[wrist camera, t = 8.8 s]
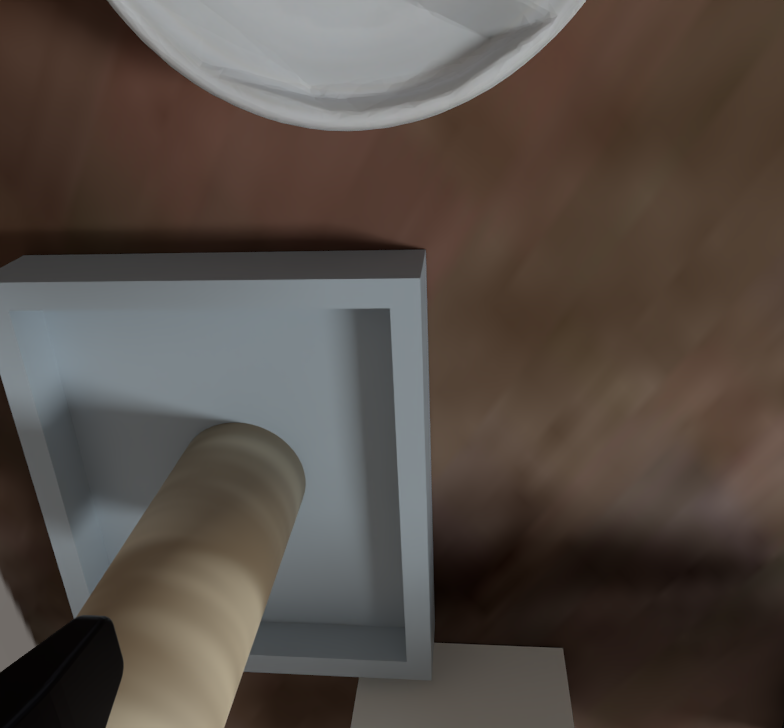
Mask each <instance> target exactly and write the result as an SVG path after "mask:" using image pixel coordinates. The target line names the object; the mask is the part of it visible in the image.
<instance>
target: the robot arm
mask: <svg viewBox="0 0 784 728" xmlns="http://www.w3.org/2000/svg"><path fill="white" fill-rule="evenodd" d="M123 669H124V662H123V656H122V653H121V649H120V645H119V642H118V638H117V634H116V631H115V627H114V624H113V621H112V620H111V619H110V618H109V617H107V616H96V615H82V616H78V617H76V618H75V619H73V620H72V621H70V622H69V623H67V624H66V625H65V626H63V627H62V628H61V629H59V630H58V631H56V632H55V633H54V634H52V635H51V636H50V637H48V638H47V639H45V640H44V641H43V642H41V643H40V644H39V645H37V646H36V647H35V648H33V649H32V650H31V651H29V652H28V653H26V654H25V655H24V656H22V657H21V658H19V659H18V660H17V661H15V662H14V663H13V664H11V665H10V666H9V667H7V668H6V669H4V670H3V671H2V672H0V728H106V725H107V722H108V719H109V716H110V713H111V710H112V707H113V704H114V701H115V698H116V695H117V692H118V689H119V686H120V683H121V679H122V676H123ZM782 728H784V722H783V726H782Z"/></svg>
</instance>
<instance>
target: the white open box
mask: <svg viewBox="0 0 784 728" xmlns="http://www.w3.org/2000/svg"><path fill="white" fill-rule="evenodd" d="M351 728H574V721H573V714H572V707H571V700H570V693H569V686H568V680H567V673H566V666H565V659H564V652H563V648H549V647H525V646H501V645H477V644H454V643H434V649H433V666H432V681H429V680H408V679H387V678H366V677H359V680H358V686H357V692H356V698H355V704H354V710H353V716H352V722H351Z"/></svg>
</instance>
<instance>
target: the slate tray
mask: <svg viewBox="0 0 784 728" xmlns="http://www.w3.org/2000/svg"><path fill="white" fill-rule="evenodd" d="M0 375H1V379H2V382H3V385H4V389H5V392H6V395H7V398H8V402H9V405H10V408H11V412H12V415H13V418H14V422H15V425H16V428H17V432H18V435H19V438H20V441H21V445H22V448H23V451H24V455H25V458H26V461H27V465H28V468H29V471H30V475H31V478H32V481H33V484H34V488H35V491H36V494H37V498H38V501H39V504H40V508H41V511H42V514H43V518H44V521H45V524H46V528H47V531H48V534H49V537H50V541H51V544H52V547H53V551H54V554H55V557H56V561H57V564H58V567H59V571H60V574H61V577H62V580H63V584H64V587H65V590H66V594H67V597H68V600H69V604H70V607H71V610H72V614H73V617H74V619H75V618H76V616H77V615H78V613H79V612H80V610H81V609H82V607H83V606H84V604H85V603H86V601H87V600H88V598H89V597H90V595H91V594H92V592H93V590H94V589H95V587H96V586H97V584H98V583H99V581H100V580H101V578H102V577H103V575H104V574H105V572H106V571H107V569H108V568H109V566H110V564H111V563H112V561H113V560H114V558H115V557H116V555H117V554H118V552H119V551H120V549H121V548H122V546H123V545H124V543H125V542H126V540H127V538H128V537H129V535H130V534H131V532H132V531H133V529H134V528H135V526H136V525H137V523H138V522H139V520H140V519H141V517H142V516H143V514H144V512H145V511H146V509H147V508H148V506H149V505H150V503H151V502H152V500H153V499H154V497H155V496H156V494H157V493H158V491H159V490H160V488H161V486H162V485H163V483H164V482H165V480H166V479H167V477H168V476H169V474H170V473H171V471H172V470H173V468H174V467H175V465H176V464H177V462H178V460H179V459H180V457H181V456H182V454H183V453H184V451H185V450H186V448H187V447H188V445H189V444H190V442H191V441H192V440H193V439H194V438H195V437H196V436H197V435H198V434H199V433H201V432H202V431H204V430H205V429H208V428H210V427H212V426H215V425H218V424H223V423H234V422H237V423H247V424H252V425H255V426H259V427H262V428H264V429H266V430H268V431H270V432H272V433H274V434H276V435H277V436H278V437H280V438H281V439H283V440H284V441H285V442H286V443H287V444H288V445H289V446H290V447H291V448H292V449H293V451H294V452H295V453H296V455H297V456H298V458H299V460H300V462H301V464H302V466H303V469H304V473H305V479H306V487H305V493H304V496H303V500H302V503H301V505H300V508H299V511H298V514H297V517H296V520H295V523H294V526H293V529H292V532H291V535H290V537H289V540H288V543H287V546H286V549H285V552H284V555H283V558H282V561H281V564H280V567H279V569H278V572H277V575H276V578H275V581H274V584H273V587H272V590H271V593H270V596H269V599H268V601H267V604H266V607H265V610H264V613H263V616H262V619H261V622H260V625H259V628H258V631H257V633H256V636H255V639H254V642H253V645H252V648H251V651H250V654H249V657H248V660H247V663H246V665H245V668H244V671H243V672H261V673H282V674H303V675H324V676H345V677H366V678H387V679H408V680H429V681H432V666H433V649H434V632H435V606H434V565H433V525H432V484H431V443H430V403H429V362H428V321H427V280H426V250H358V251H289V252H221V253H152V254H83V255H23V256H22V257H20V258H18V259H16V260H14V261H12V262H10V263H9V264H7V265H5V266H3V267H1V268H0Z"/></svg>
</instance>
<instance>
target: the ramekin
mask: <svg viewBox="0 0 784 728" xmlns="http://www.w3.org/2000/svg"><path fill="white" fill-rule="evenodd" d="M107 1H108V2H109V3H110V5H111V6H112V7H113V9H114V10H115V11H116V12H117V13H118V15H119V16H120V17H121V18H122V19H123V20H124V22H125V23H126V24H127V25H128V26H129V27H130V28H131V29H132V30H133V31H134V32H135V34H136V35H137V36H138V37H139V38H140V39H141V40H142V41H143V42H144V43H145V44H146V45H147V46H148V47H150V48H151V49H152V50H153V51H154V52H155V53H156V54H157V55H158V56H160V57H161V58H162V59H163V60H164V61H165V62H166V63H168V64H169V65H170V66H171V67H172V68H174V69H175V70H176V71H178V72H179V73H180V74H182V75H183V76H185V77H186V78H187V79H189V80H190V81H191V82H193V83H194V84H196V85H197V86H199V87H201V88H202V89H204V90H206V91H207V92H209V93H211V94H212V95H214V96H216V97H218V98H221V99H223V100H225V101H227V102H228V103H230V104H232V105H234V106H237V107H239V108H241V109H244V110H246V111H248V112H251V113H253V114H256V115H259V116H261V117H264V118H267V119H271V120H274V121H277V122H281V123H285V124H290V125H295V126H300V127H305V128H311V129H319V130H327V131H361V130H371V129H380V128H388V127H393V126H397V125H402V124H407V123H412V122H415V121H419V120H422V119H426V118H429V117H431V116H434V115H437V114H440V113H443V112H445V111H447V110H449V109H452V108H454V107H456V106H458V105H460V104H462V103H465V102H467V101H469V100H471V99H473V98H474V97H476V96H478V95H480V94H482V93H483V92H485V91H487V90H489V89H491V88H492V87H494V86H495V85H497V84H498V83H499V82H501V81H502V80H504V79H505V78H507V77H508V76H510V75H511V74H512V73H514V72H515V71H516V70H518V69H519V68H520V67H522V66H523V65H524V64H525V63H527V62H528V61H529V60H530V59H531V58H532V57H534V56H535V55H536V54H537V53H538V52H539V51H540V50H541V49H542V48H543V47H544V46H546V45H547V44H548V43H549V42H550V41H551V40H552V39H553V38H554V37H555V36H556V35H557V34H558V33H559V32H560V31H561V30H562V29H563V27H564V26H565V25H566V24H567V23H568V22H569V21H570V20H571V19H572V17H573V16H574V15H575V14H576V13H577V11H578V10H579V9H580V8H581V7H582V5H583V4H584V3H585V1H586V0H107Z"/></svg>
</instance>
